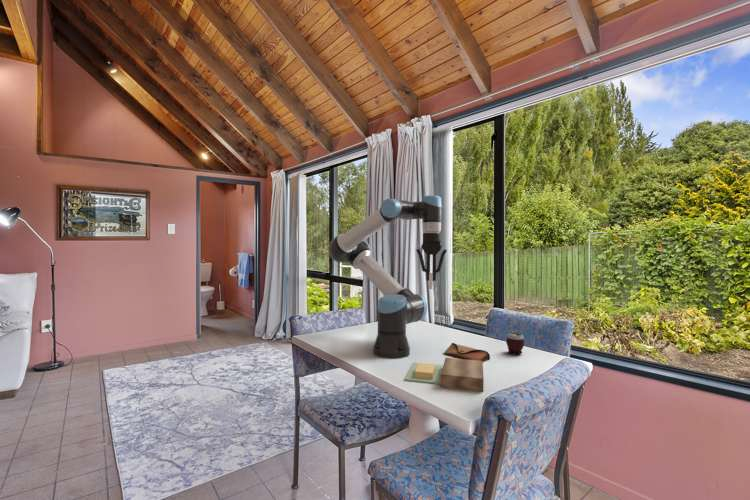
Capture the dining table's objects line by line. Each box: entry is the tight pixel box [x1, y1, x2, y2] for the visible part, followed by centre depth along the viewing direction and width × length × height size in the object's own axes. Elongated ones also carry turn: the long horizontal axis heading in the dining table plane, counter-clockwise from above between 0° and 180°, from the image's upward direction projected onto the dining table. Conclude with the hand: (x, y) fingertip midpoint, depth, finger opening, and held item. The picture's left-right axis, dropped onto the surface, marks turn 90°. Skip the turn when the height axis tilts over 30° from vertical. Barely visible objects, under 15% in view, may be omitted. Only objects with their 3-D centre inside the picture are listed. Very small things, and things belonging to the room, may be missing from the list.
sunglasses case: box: [442, 342, 491, 363], centre depth 152 cm, size 18×7×7 cm, turn 45°
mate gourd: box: [506, 318, 531, 356], centre depth 157 cm, size 8×8×15 cm
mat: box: [404, 361, 444, 385], centre depth 132 cm, size 12×18×1 cm, turn 165°
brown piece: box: [440, 357, 484, 392], centre depth 126 cm, size 13×18×4 cm
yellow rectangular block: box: [415, 362, 437, 379], centre depth 130 cm, size 6×9×2 cm, turn 165°
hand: (431, 288), depth 159 cm, fingers closed
